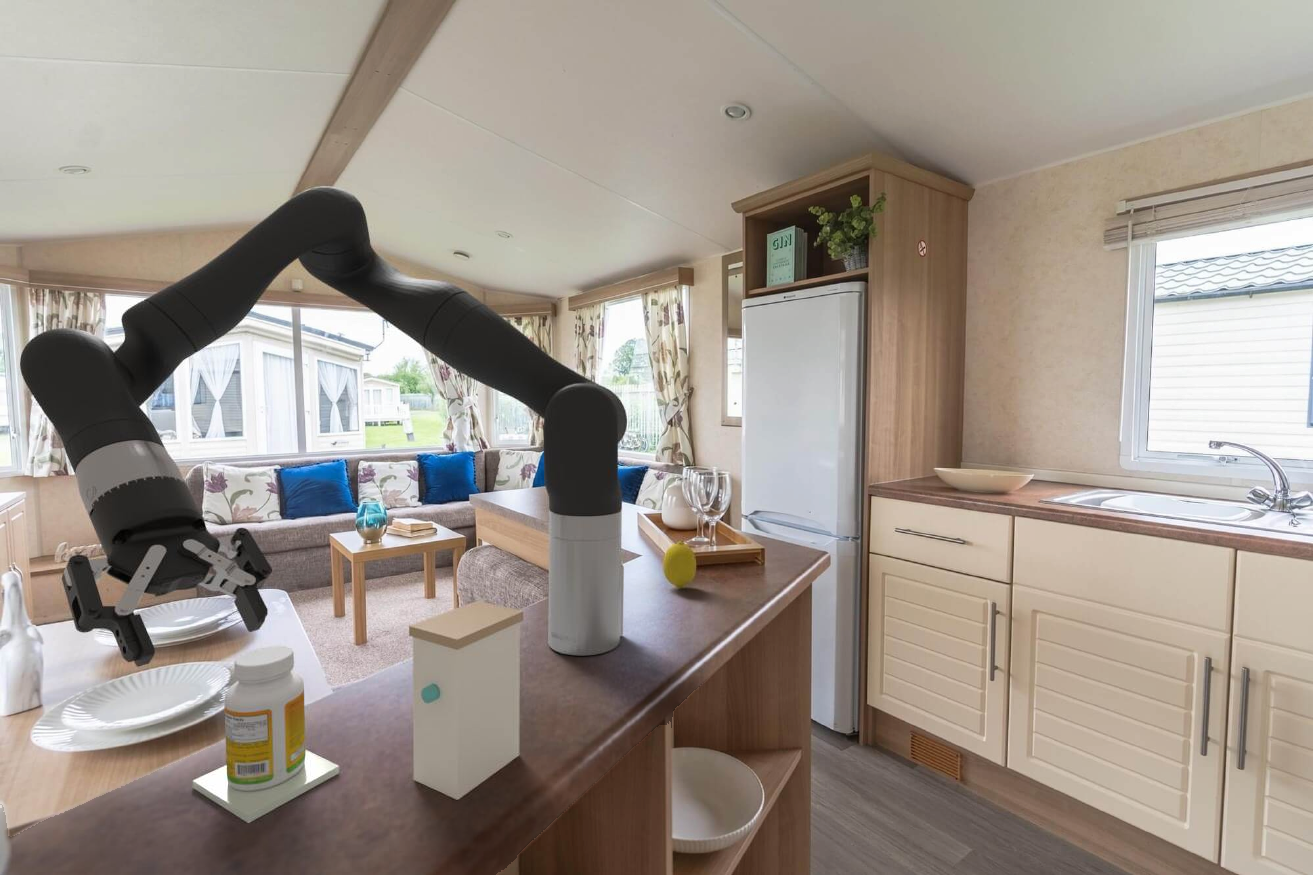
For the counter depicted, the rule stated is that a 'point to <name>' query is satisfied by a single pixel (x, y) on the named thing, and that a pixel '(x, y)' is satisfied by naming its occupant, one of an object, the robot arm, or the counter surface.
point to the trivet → (264, 800)
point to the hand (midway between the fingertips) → (205, 642)
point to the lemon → (679, 565)
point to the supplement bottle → (264, 720)
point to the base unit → (465, 696)
